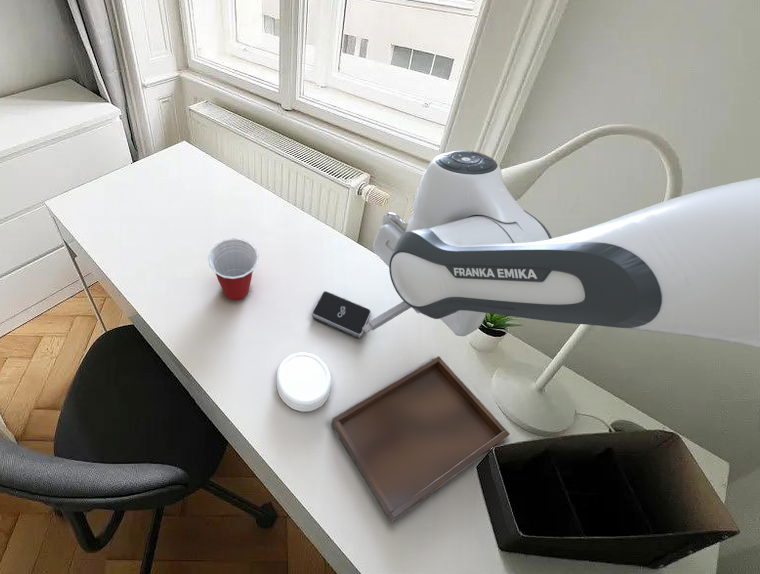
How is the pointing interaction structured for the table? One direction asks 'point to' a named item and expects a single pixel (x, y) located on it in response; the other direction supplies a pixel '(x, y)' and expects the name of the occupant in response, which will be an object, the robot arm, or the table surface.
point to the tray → (417, 435)
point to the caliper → (386, 316)
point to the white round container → (303, 381)
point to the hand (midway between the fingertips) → (412, 303)
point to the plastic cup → (233, 266)
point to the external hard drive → (341, 314)
